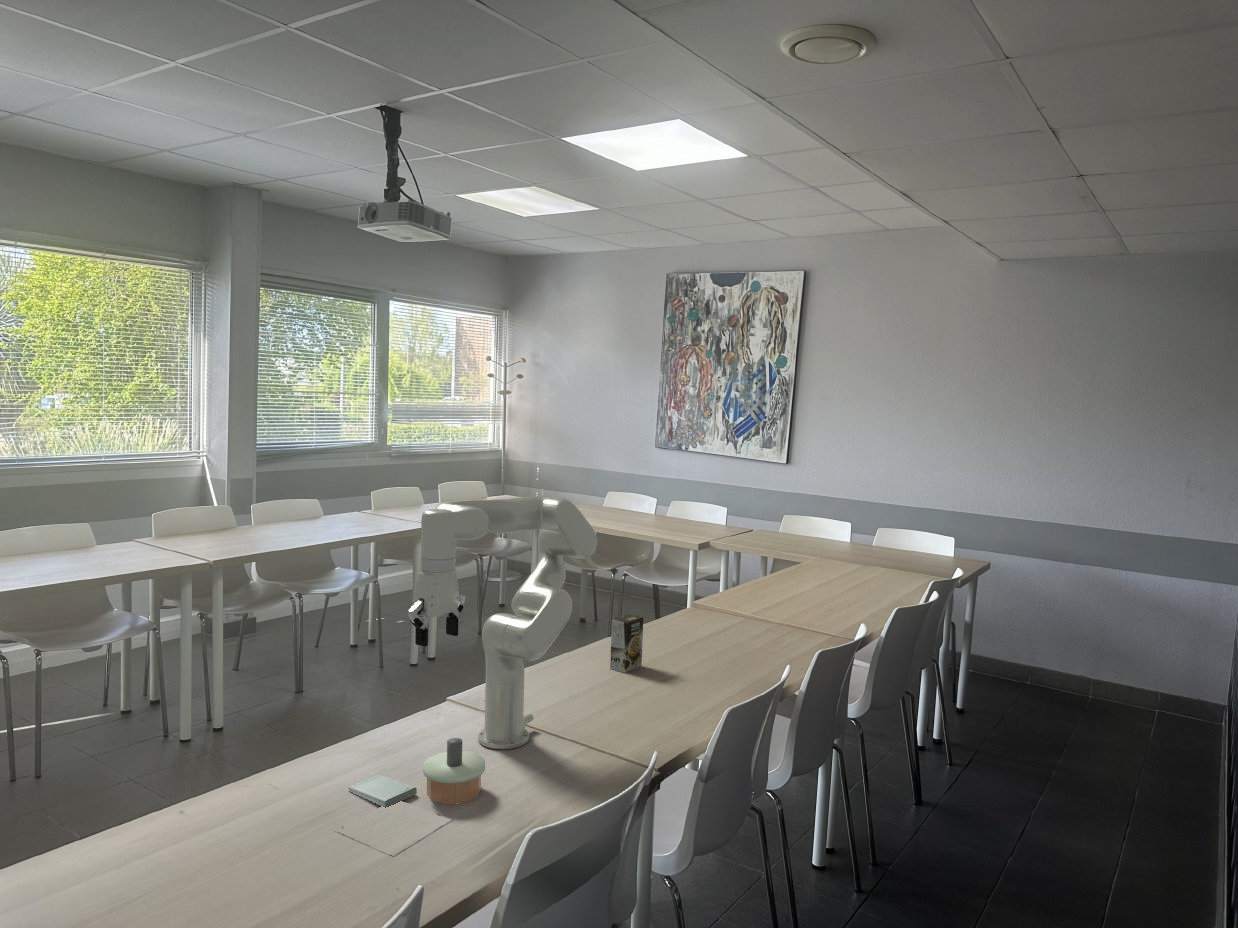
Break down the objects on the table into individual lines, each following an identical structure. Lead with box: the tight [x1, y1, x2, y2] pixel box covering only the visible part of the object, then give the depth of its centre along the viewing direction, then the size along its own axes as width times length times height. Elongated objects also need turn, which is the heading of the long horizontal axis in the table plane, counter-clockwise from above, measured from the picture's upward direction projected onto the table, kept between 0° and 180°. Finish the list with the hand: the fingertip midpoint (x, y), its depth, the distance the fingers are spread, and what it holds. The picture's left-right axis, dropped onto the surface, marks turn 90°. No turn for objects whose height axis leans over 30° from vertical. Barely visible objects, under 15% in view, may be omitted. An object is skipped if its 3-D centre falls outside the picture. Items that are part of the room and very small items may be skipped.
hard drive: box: [347, 774, 418, 808], centre depth 176 cm, size 2×8×12 cm
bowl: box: [426, 774, 482, 805], centre depth 178 cm, size 11×11×6 cm
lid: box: [422, 737, 486, 783], centre depth 177 cm, size 13×13×6 cm
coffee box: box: [609, 613, 644, 673], centre depth 263 cm, size 9×6×16 cm
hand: (437, 639), depth 186 cm, fingers open, 9 cm apart
